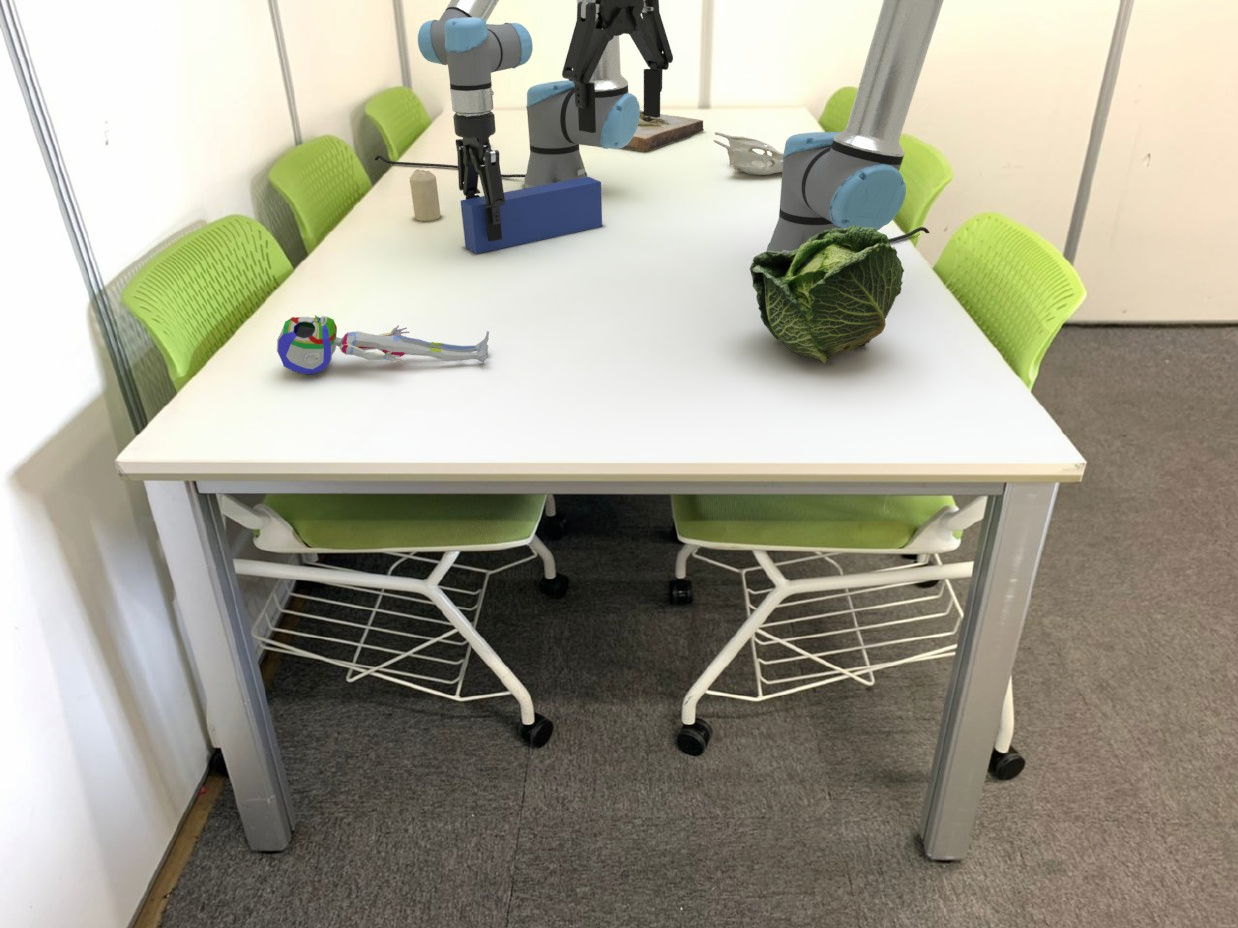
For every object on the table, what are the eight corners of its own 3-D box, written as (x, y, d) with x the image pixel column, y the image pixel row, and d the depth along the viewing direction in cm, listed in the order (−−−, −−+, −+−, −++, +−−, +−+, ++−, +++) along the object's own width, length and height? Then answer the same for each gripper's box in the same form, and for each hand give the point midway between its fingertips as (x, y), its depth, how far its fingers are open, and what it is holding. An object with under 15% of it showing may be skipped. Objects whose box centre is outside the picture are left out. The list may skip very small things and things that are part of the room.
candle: (445, 214, 196) (439, 168, 191) (432, 222, 192) (426, 174, 186) (423, 212, 198) (416, 166, 192) (410, 220, 193) (403, 172, 188)
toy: (488, 343, 128) (268, 326, 123) (485, 396, 132) (272, 381, 127) (490, 315, 136) (284, 298, 132) (486, 366, 141) (287, 351, 136)
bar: (476, 254, 175) (471, 206, 170) (465, 247, 178) (460, 200, 173) (602, 226, 188) (601, 181, 183) (589, 221, 192) (588, 176, 187)
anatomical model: (715, 128, 226) (816, 127, 222) (715, 166, 231) (813, 165, 227) (712, 142, 213) (818, 141, 210) (711, 181, 218) (815, 181, 215)
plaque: (647, 125, 237) (559, 112, 252) (647, 153, 241) (560, 139, 256) (706, 107, 258) (622, 97, 273) (705, 133, 262) (622, 121, 277)
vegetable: (780, 374, 144) (722, 268, 136) (876, 307, 145) (825, 198, 137) (841, 402, 125) (779, 281, 118) (951, 325, 127) (897, 200, 119)
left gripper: (518, 118, 159) (527, 244, 171) (467, 101, 173) (479, 218, 186) (479, 124, 155) (491, 252, 168) (431, 106, 170) (445, 224, 182)
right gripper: (569, -36, 111) (576, 142, 122) (699, -46, 126) (694, 113, 137) (529, -38, 115) (540, 134, 127) (659, -47, 130) (658, 107, 142)
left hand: (485, 234), depth 177 cm, fingers open, 8 cm apart
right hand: (620, 124), depth 132 cm, fingers open, 13 cm apart
